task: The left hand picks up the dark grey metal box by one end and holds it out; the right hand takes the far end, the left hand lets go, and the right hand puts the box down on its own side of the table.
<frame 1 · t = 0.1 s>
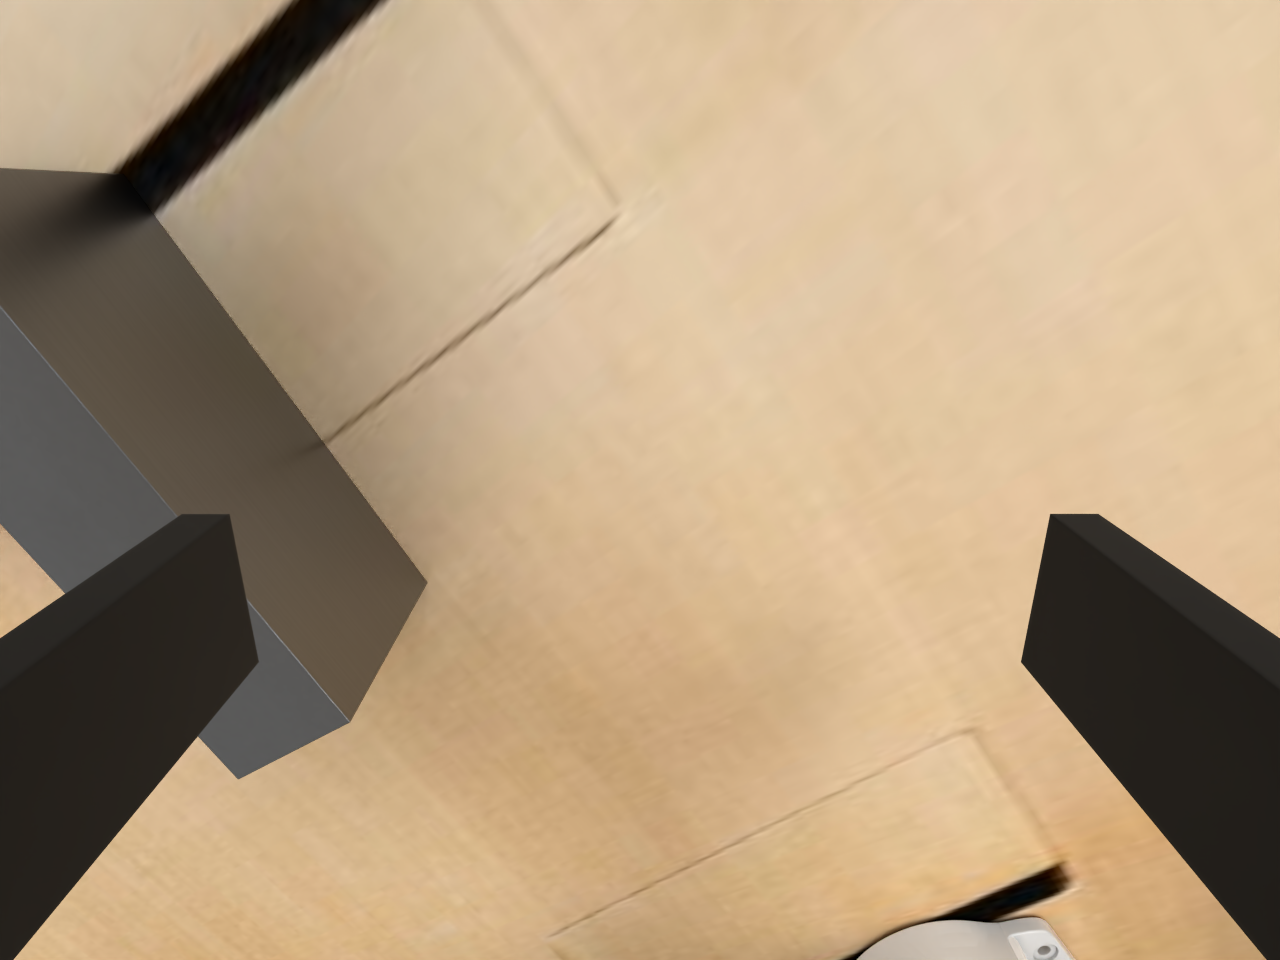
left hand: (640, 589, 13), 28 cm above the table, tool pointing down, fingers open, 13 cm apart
box: (244, 424, 41), on the table
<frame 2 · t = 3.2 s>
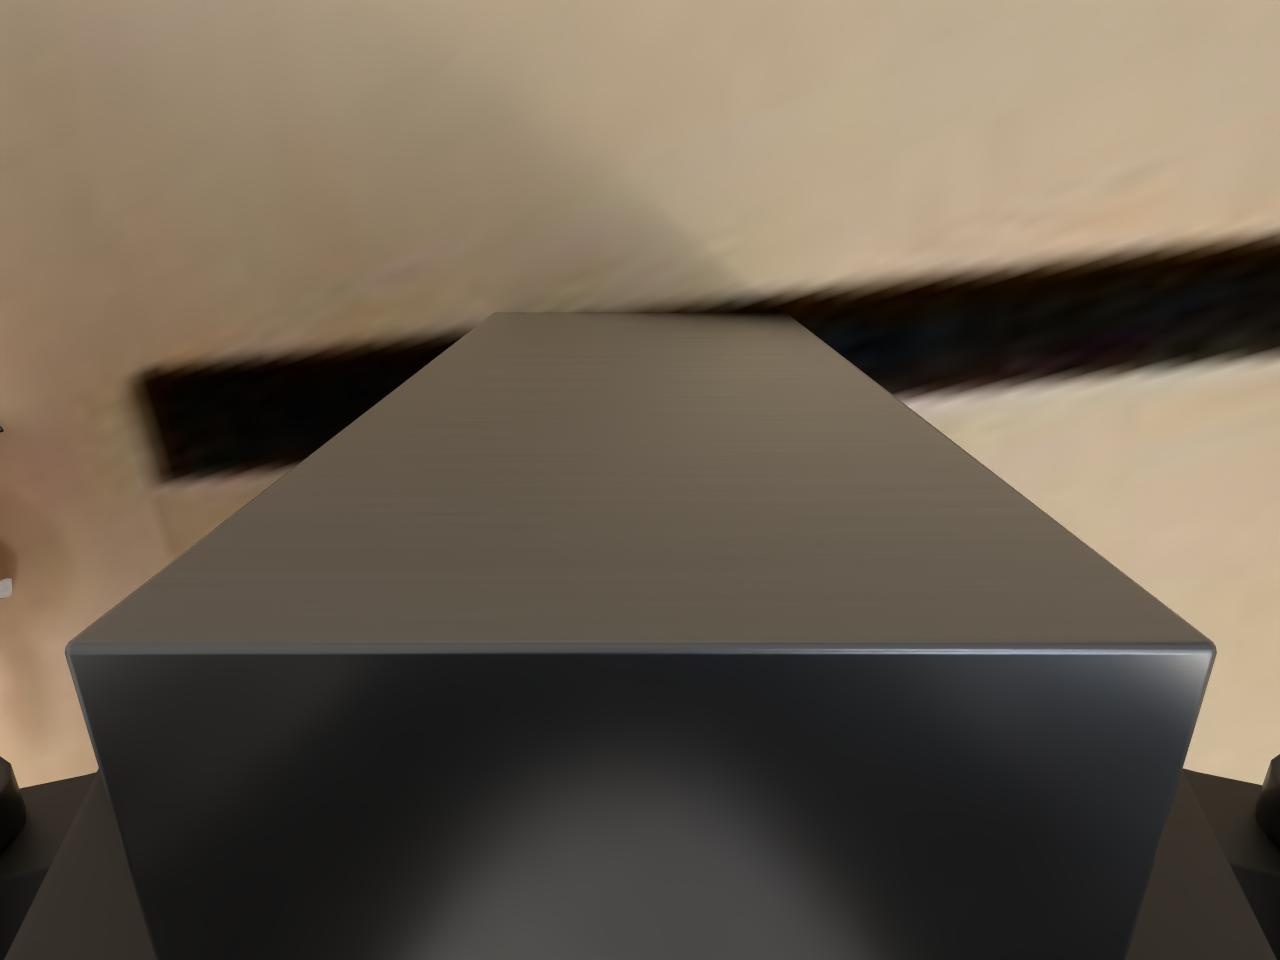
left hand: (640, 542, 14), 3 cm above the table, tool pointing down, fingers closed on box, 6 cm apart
box: (640, 799, 20), on the table, touching left hand
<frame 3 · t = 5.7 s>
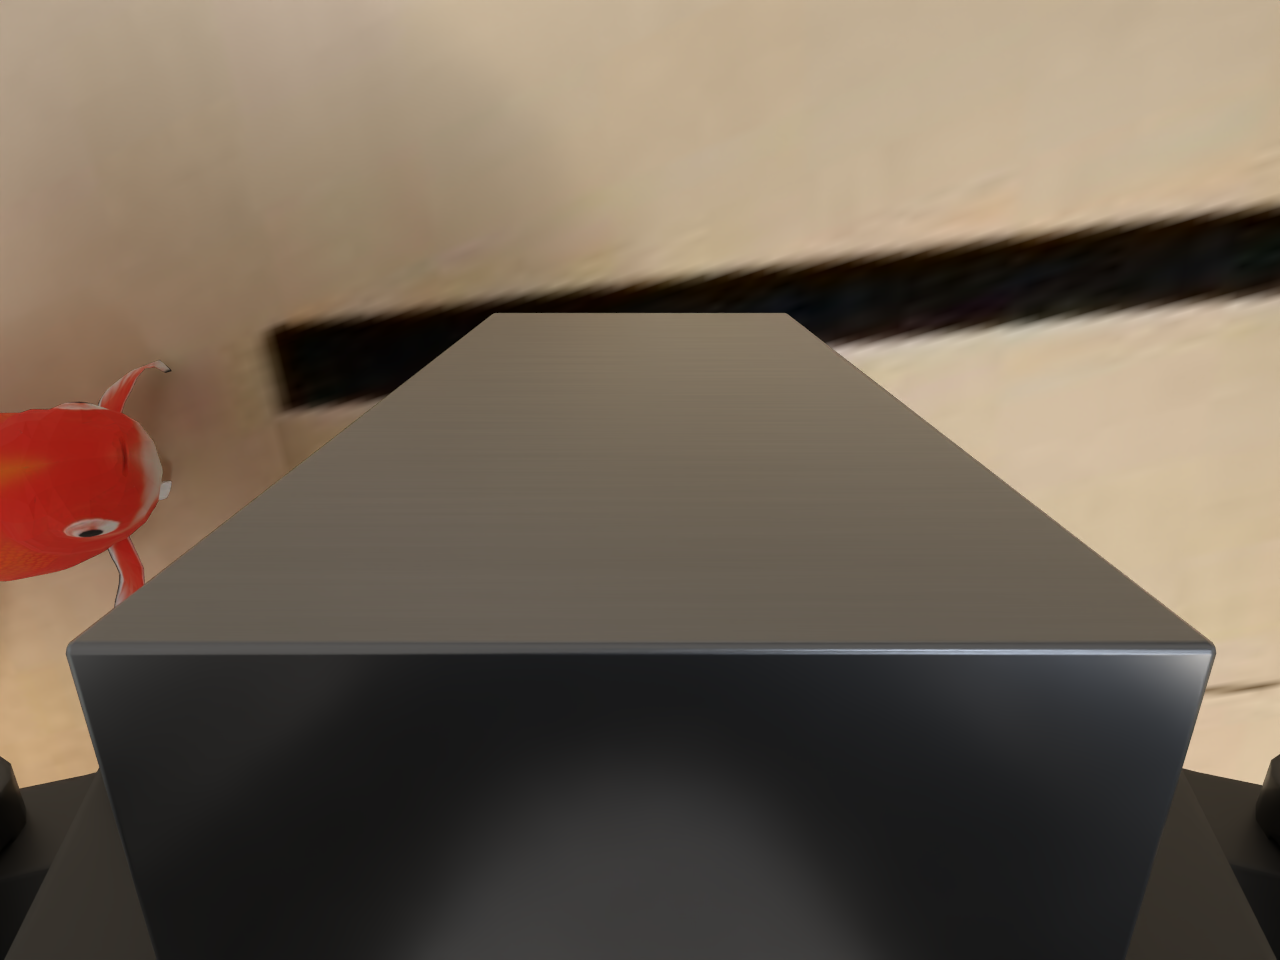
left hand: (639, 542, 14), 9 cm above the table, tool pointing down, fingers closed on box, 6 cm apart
box: (640, 799, 20), point 6 cm above the table, touching left hand
fish: (33, 477, 24), on the table
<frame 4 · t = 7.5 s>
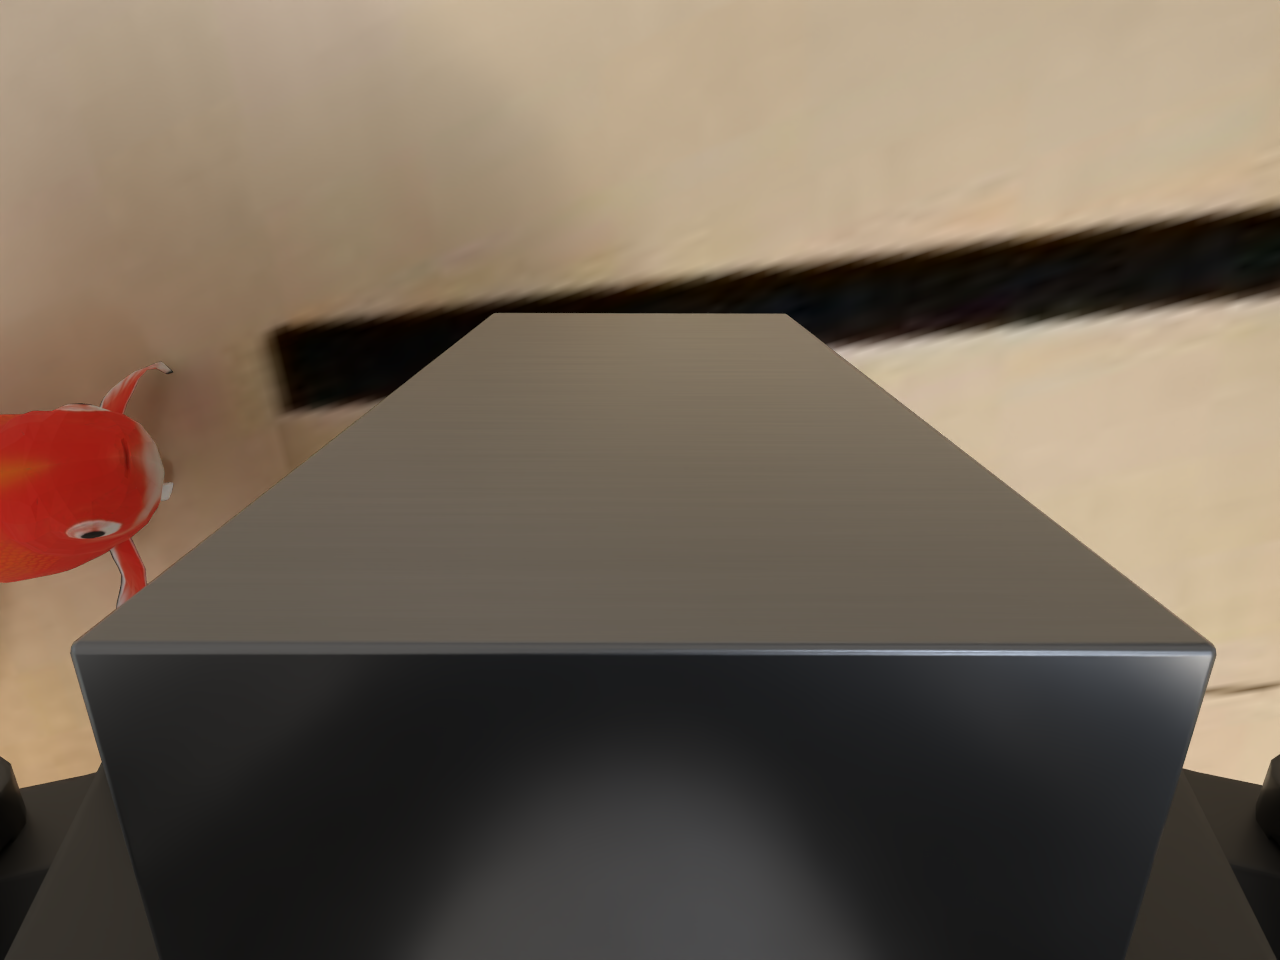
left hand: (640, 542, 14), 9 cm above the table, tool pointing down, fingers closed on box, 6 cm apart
box: (638, 799, 20), point 6 cm above the table, touching left hand, right hand
fish: (34, 478, 24), on the table
when the left hand's fingers open (9 cm above the table, at t = 8.6 s): box stays where it is, held by the right hand.
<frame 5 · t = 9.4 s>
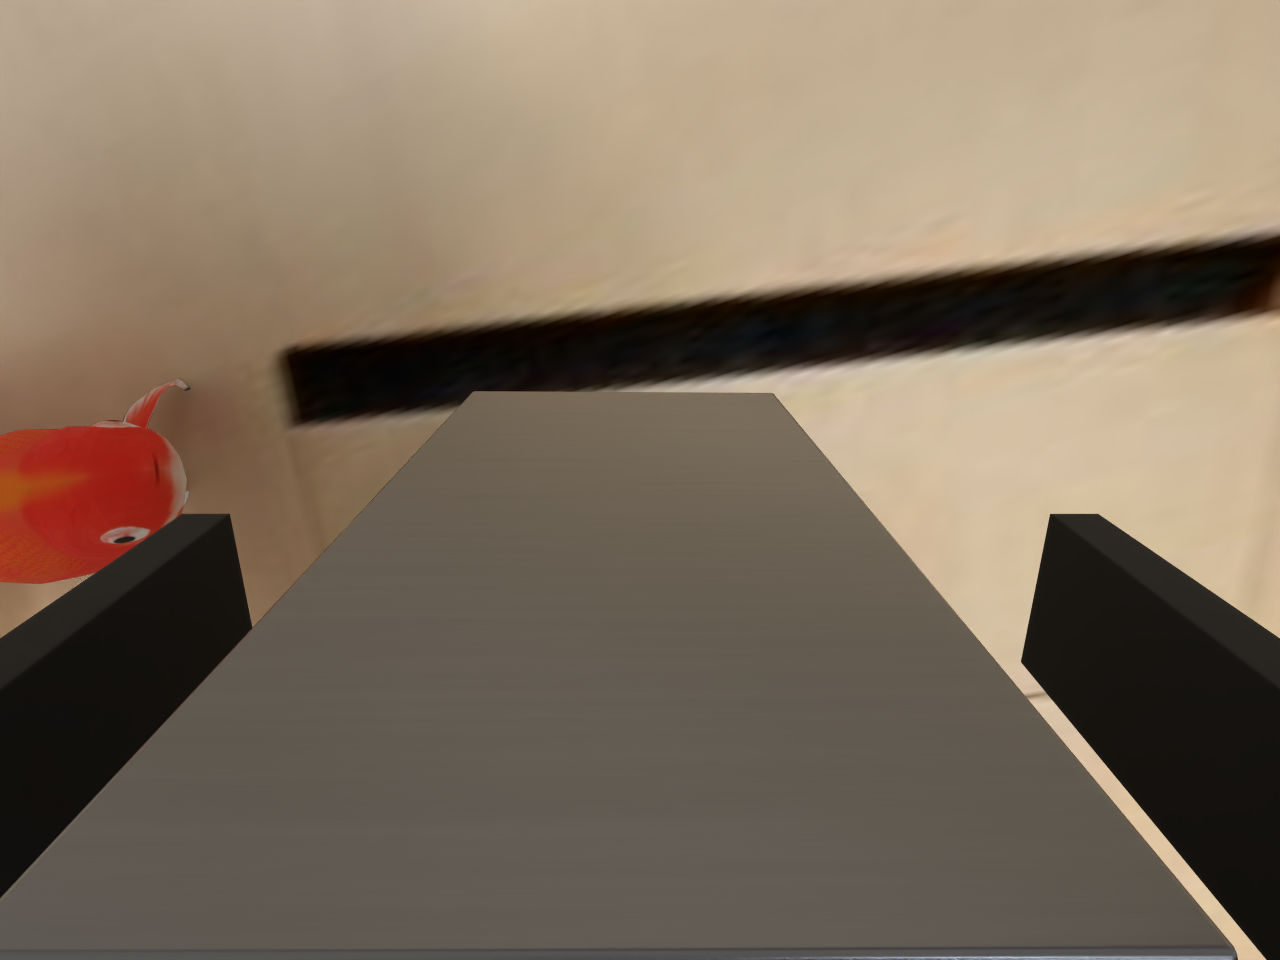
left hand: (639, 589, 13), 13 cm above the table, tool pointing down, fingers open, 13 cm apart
box: (622, 880, 19), point 9 cm above the table, touching right hand
fish: (57, 487, 25), on the table
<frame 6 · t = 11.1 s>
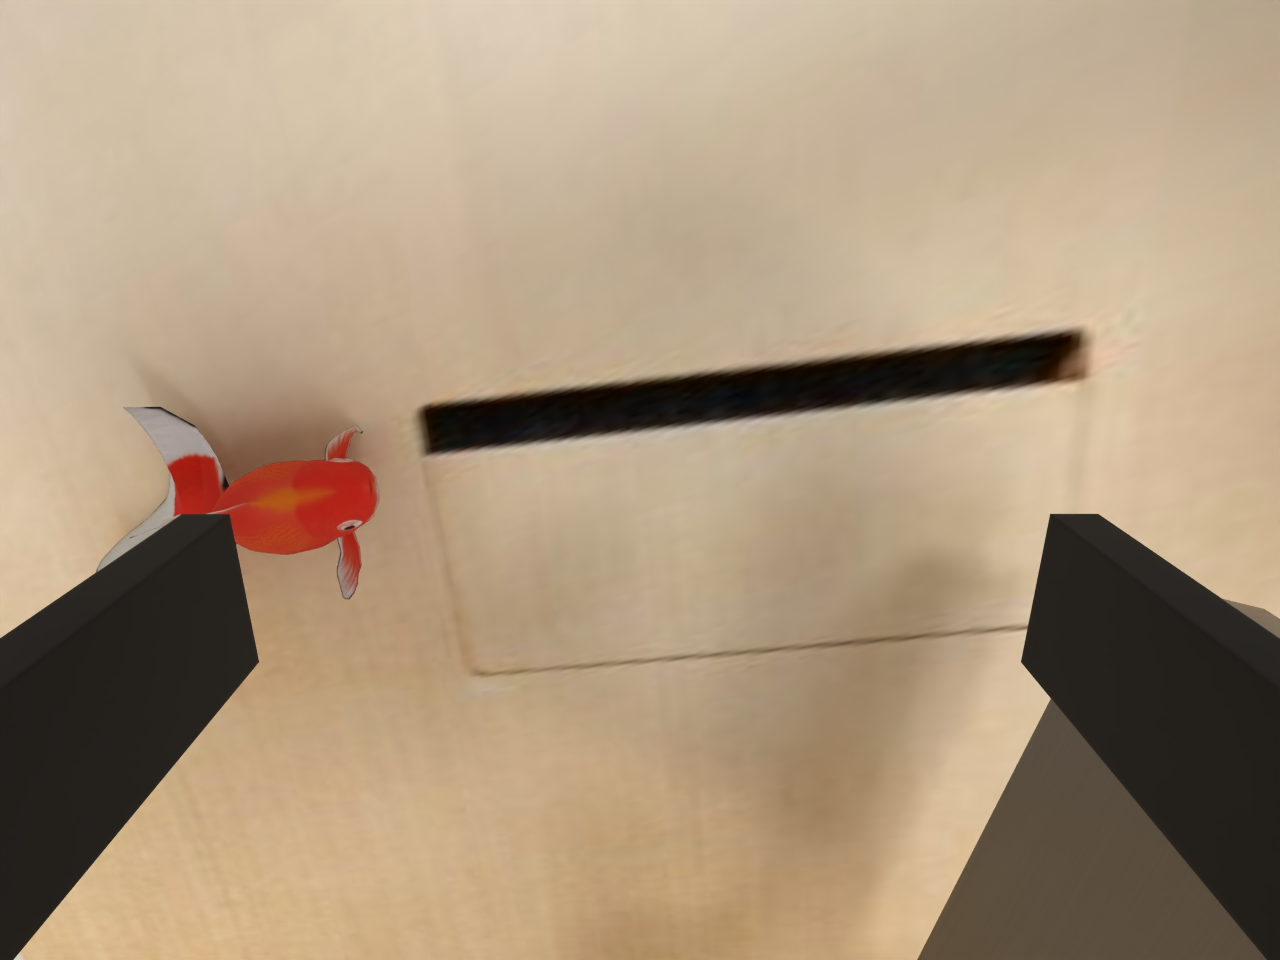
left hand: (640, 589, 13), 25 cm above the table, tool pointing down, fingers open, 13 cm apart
box: (1047, 849, 32), point 11 cm above the table, touching right hand
fish: (271, 494, 39), on the table
when the right hand's fingers open (9 cm above the table, at t = 14.8 s): box drops 1 cm, on the table.
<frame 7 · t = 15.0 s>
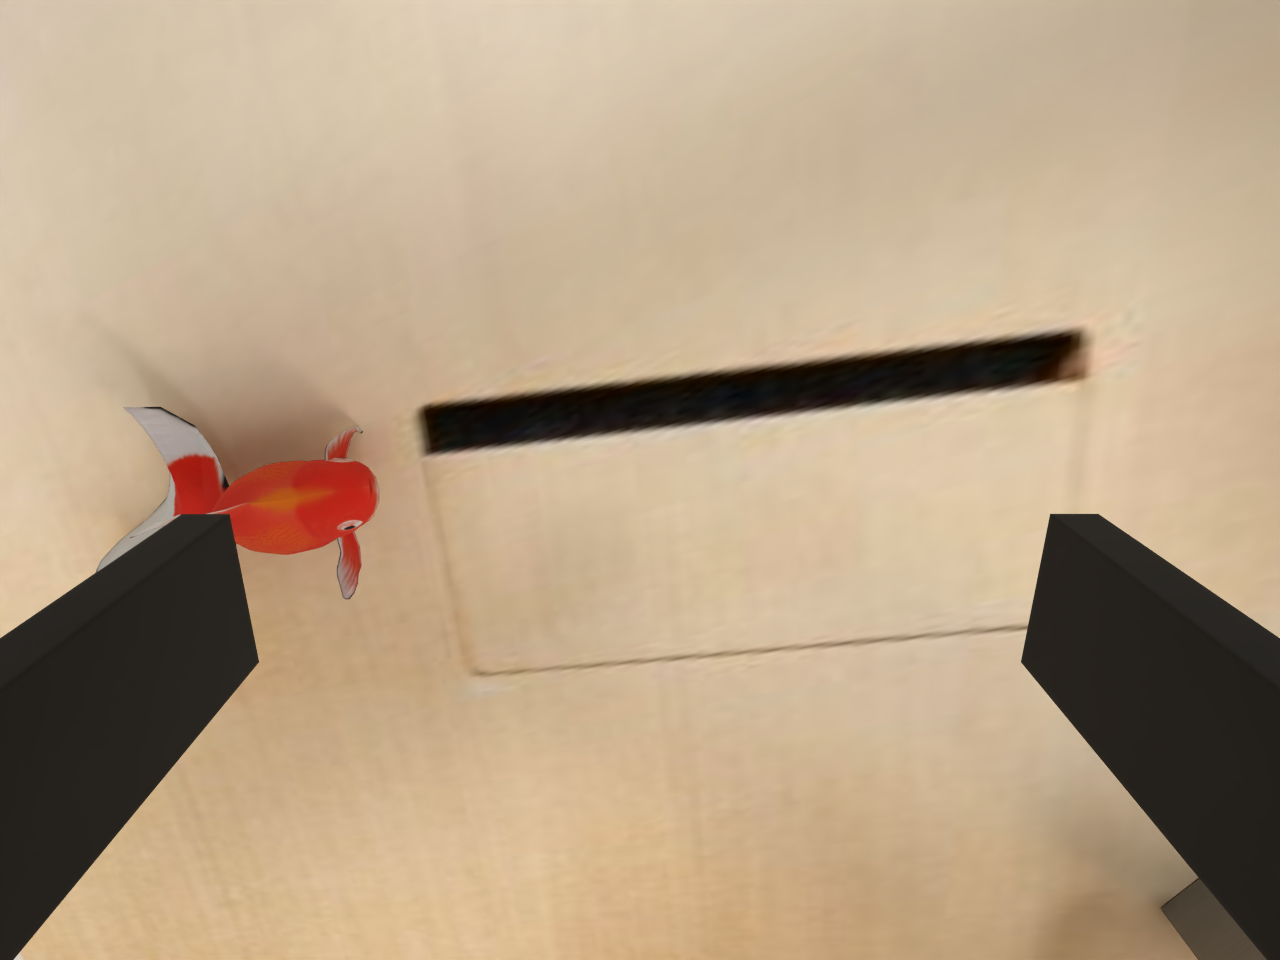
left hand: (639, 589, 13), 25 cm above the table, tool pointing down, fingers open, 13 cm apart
fish: (271, 494, 39), on the table
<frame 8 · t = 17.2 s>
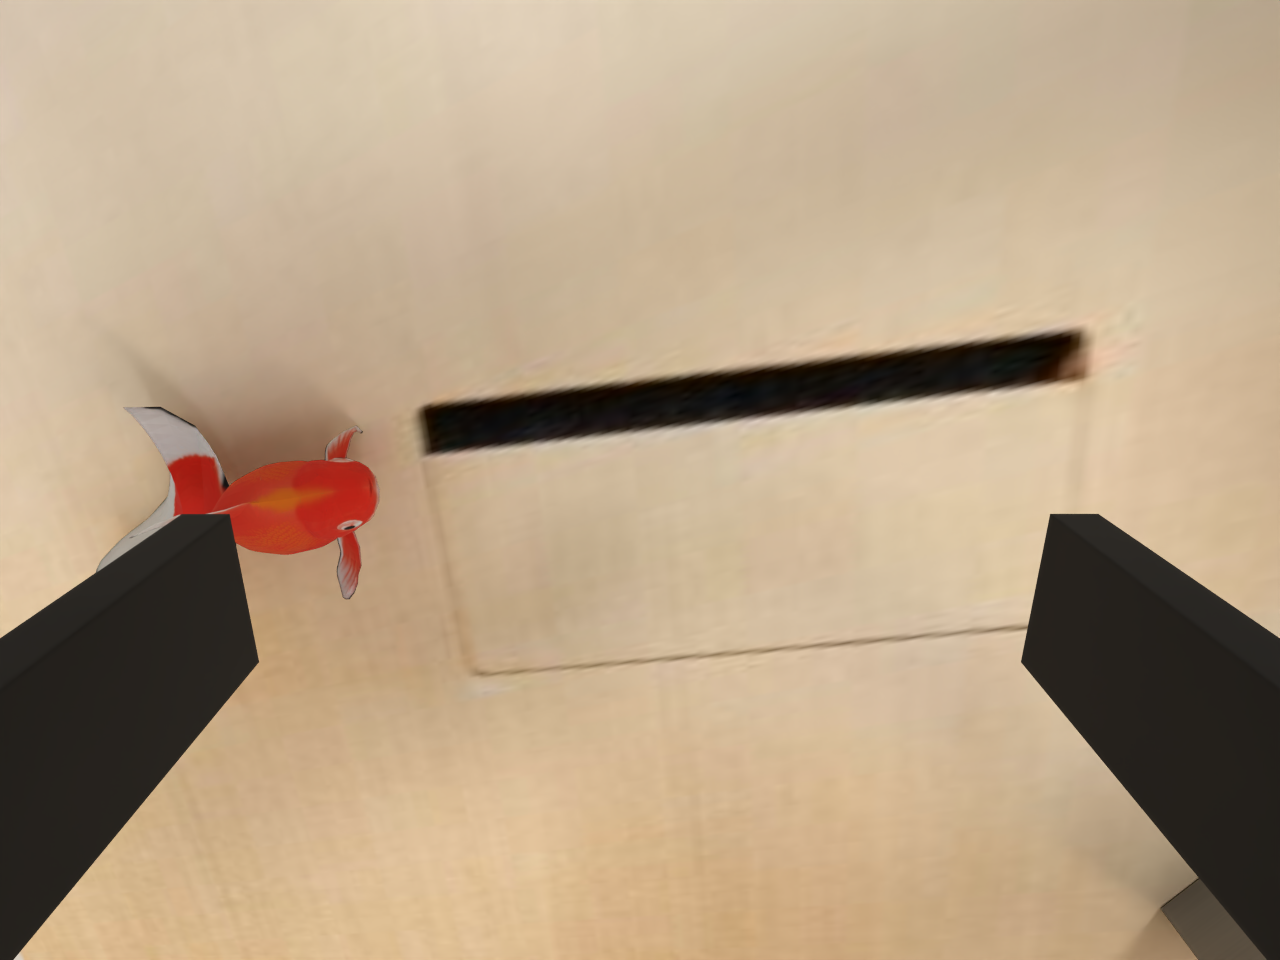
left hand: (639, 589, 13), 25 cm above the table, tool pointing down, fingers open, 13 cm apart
fish: (271, 494, 39), on the table
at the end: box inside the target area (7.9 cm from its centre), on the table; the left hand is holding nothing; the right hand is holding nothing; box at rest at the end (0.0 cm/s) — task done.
